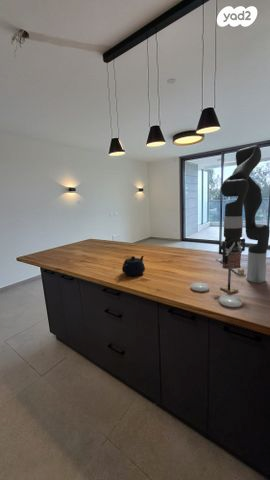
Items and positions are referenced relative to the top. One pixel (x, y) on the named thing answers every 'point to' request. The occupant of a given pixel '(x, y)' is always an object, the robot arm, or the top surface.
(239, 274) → the balance
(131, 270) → the teapot
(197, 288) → the dish high side
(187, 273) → the top surface
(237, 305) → the dish low side
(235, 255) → the lighter
